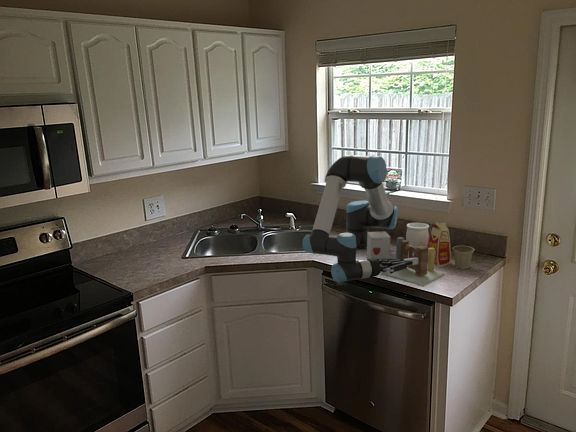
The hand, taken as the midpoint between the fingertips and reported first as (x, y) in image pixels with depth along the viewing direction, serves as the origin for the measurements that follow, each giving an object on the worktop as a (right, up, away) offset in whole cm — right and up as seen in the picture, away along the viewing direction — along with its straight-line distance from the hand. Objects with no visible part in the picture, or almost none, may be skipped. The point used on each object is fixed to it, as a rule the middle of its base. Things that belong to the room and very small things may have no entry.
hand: (417, 260), depth 205 cm
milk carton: (+15, -3, +19) cm, 25 cm away
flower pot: (+24, -4, +13) cm, 28 cm away
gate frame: (-1, -7, +6) cm, 9 cm away
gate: (0, -5, +7) cm, 8 cm away
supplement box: (-13, -4, +19) cm, 23 cm away
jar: (+8, 0, +31) cm, 32 cm away
